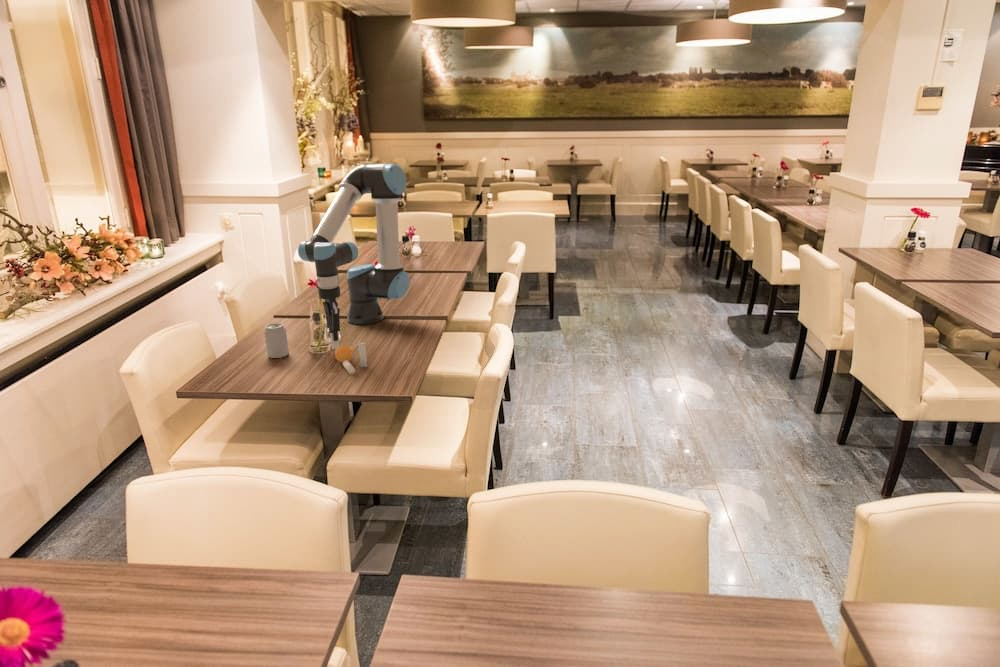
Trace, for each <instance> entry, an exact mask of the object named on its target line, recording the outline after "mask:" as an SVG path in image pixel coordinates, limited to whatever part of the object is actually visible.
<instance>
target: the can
mask: <svg viewBox="0 0 1000 667" xmlns="http://www.w3.org/2000/svg"><path fill="white" fill-rule="evenodd" d="M263 333H264V339H265V344H266V351H267V356H268V357H269V358H270V357H271V358H270V359H272V358H280V359H283V358H282V357H284V358H286V357H287V356H288V355H289V353H290V350H289V343H288V337H287V329H286V327H285V326H284V324H283V323H281V322H280V323H278V322H276V323H275V322H274V323H270V324H267V325H266V326H265V328H264V331H263ZM285 356H286V357H285Z"/></svg>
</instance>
